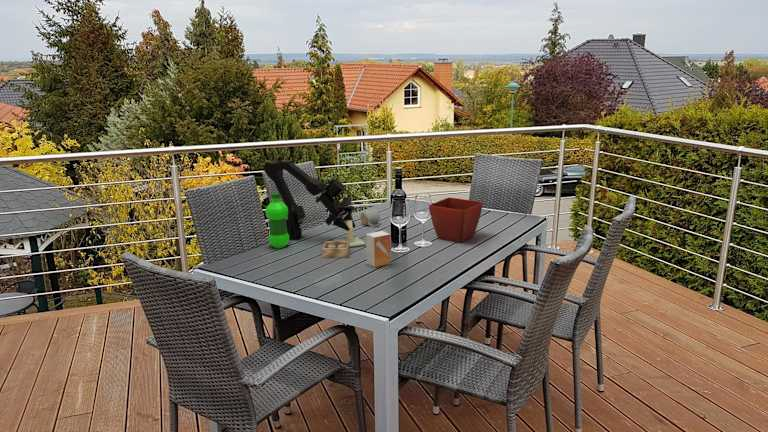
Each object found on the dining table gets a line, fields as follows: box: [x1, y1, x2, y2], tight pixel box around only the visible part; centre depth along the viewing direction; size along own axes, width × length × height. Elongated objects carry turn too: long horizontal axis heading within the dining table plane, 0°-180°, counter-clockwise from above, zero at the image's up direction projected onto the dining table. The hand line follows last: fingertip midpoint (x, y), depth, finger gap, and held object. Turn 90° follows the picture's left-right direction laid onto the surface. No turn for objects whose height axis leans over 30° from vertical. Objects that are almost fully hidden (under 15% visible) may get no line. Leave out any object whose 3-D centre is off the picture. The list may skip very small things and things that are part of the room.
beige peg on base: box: [333, 220, 367, 248], centre depth 254 cm, size 11×11×11 cm
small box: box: [365, 230, 392, 268], centre depth 226 cm, size 8×6×13 cm
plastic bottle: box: [264, 192, 290, 249], centre depth 251 cm, size 10×10×25 cm
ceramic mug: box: [359, 208, 381, 228], centre depth 286 cm, size 11×8×8 cm
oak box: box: [321, 240, 351, 259], centre depth 242 cm, size 11×11×4 cm
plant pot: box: [428, 197, 484, 244], centre depth 259 cm, size 19×19×17 cm
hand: (352, 228), depth 253 cm, fingers open, 5 cm apart
